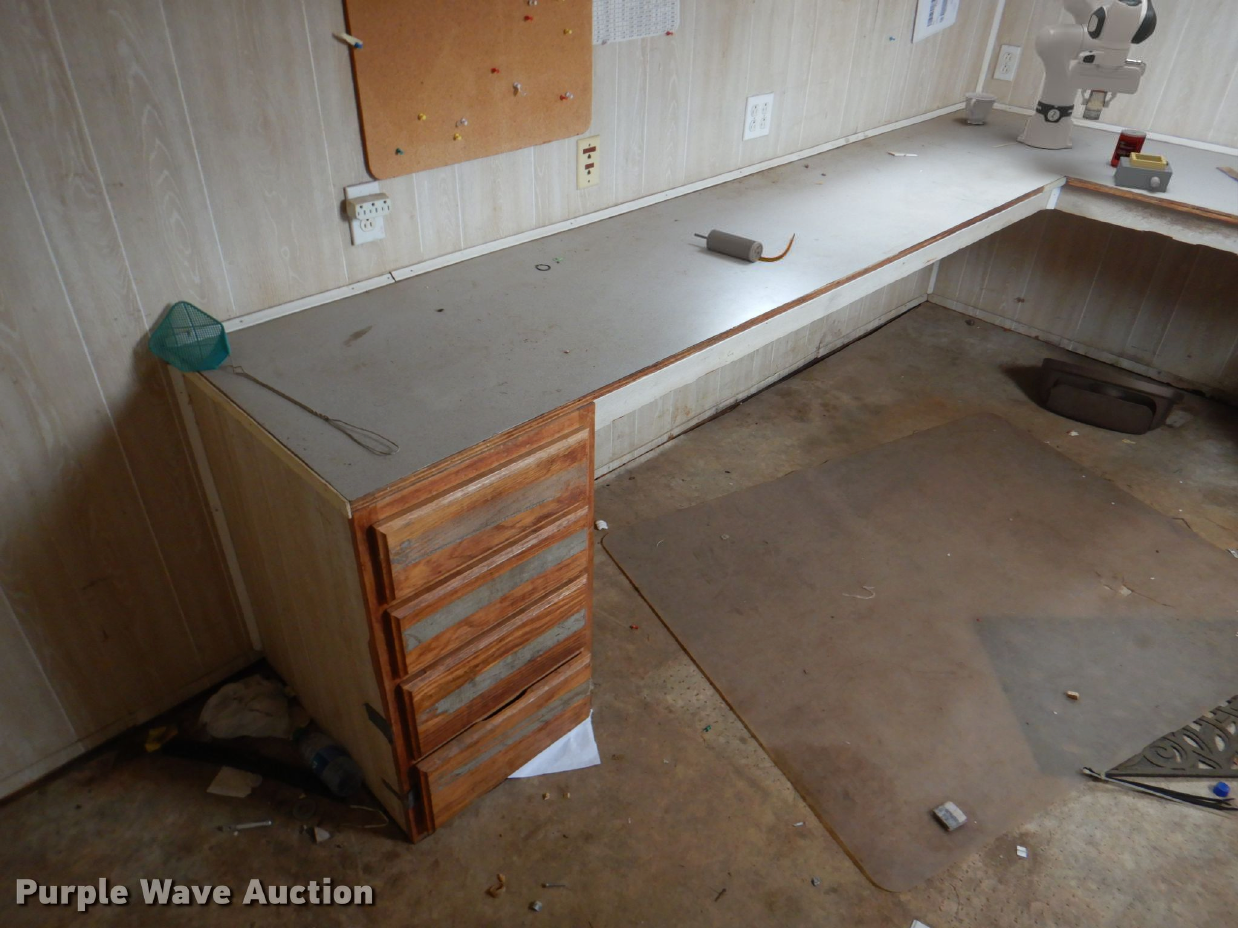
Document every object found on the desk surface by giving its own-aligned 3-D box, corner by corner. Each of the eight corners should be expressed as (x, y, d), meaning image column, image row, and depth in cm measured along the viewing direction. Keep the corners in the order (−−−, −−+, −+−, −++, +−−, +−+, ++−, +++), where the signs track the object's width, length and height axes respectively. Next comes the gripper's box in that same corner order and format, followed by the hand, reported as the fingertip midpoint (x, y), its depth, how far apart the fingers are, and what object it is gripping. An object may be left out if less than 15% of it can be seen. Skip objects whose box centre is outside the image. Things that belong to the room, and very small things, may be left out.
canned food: (1129, 163, 292) (1141, 129, 286) (1138, 170, 285) (1151, 136, 279) (1106, 162, 292) (1117, 128, 286) (1114, 168, 286) (1126, 134, 280)
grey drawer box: (1114, 175, 279) (1123, 150, 275) (1161, 182, 275) (1171, 156, 270) (1116, 188, 268) (1125, 162, 263) (1166, 195, 263) (1176, 168, 259)
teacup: (950, 124, 330) (957, 96, 325) (965, 118, 340) (972, 91, 334) (981, 130, 324) (988, 102, 318) (995, 123, 334) (1002, 96, 328)
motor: (764, 268, 206) (768, 247, 204) (687, 245, 217) (691, 225, 215) (806, 256, 223) (811, 237, 221) (733, 236, 234) (737, 217, 232)
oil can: (1081, 115, 272) (1091, 87, 267) (1098, 117, 270) (1108, 89, 266) (1082, 119, 268) (1091, 90, 263) (1099, 121, 267) (1108, 92, 262)
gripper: (1147, 59, 258) (1130, 108, 266) (1074, 52, 265) (1059, 100, 273) (1149, 63, 254) (1131, 112, 262) (1074, 56, 260) (1059, 104, 268)
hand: (1094, 106), depth 267 cm, fingers closed on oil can, 5 cm apart
